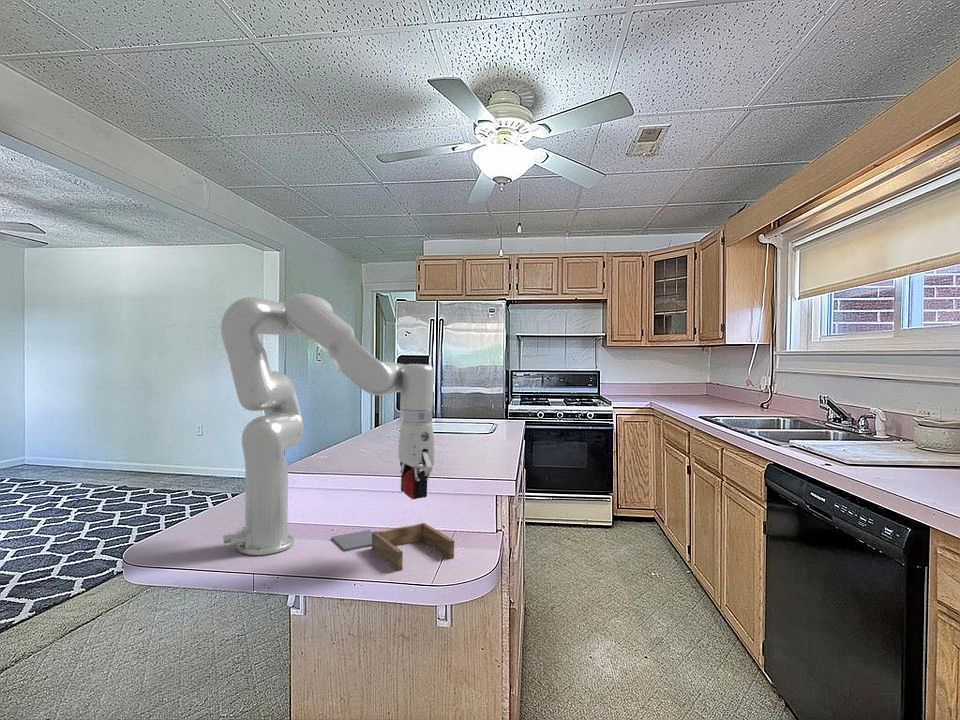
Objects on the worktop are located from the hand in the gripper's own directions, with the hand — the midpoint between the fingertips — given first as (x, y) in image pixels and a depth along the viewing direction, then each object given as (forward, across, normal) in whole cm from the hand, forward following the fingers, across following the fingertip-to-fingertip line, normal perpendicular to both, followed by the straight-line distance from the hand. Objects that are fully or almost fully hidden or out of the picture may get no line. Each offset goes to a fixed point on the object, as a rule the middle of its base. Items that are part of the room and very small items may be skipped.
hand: (413, 493), depth 122 cm
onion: (+2, 0, 0) cm, 2 cm away
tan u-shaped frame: (+14, 0, -1) cm, 14 cm away
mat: (+15, +15, +7) cm, 23 cm away
